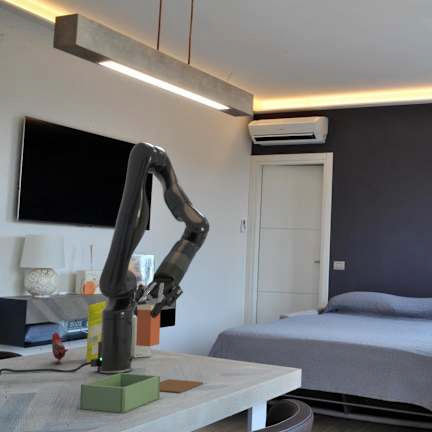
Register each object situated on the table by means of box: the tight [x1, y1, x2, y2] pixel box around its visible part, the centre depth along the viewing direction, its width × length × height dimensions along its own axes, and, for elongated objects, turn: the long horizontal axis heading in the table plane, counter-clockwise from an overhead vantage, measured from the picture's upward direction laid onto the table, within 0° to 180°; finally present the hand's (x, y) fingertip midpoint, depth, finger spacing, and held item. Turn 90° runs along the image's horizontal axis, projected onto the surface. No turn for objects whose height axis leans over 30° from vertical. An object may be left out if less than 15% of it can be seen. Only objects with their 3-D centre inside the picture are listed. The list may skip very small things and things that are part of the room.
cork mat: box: [159, 378, 204, 394], centre depth 174 cm, size 12×12×1 cm
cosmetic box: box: [131, 315, 151, 358], centre depth 220 cm, size 8×6×15 cm
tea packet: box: [136, 303, 161, 347], centre depth 164 cm, size 5×4×11 cm
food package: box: [85, 300, 107, 363], centre depth 212 cm, size 15×1×20 cm, turn 5°
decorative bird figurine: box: [51, 332, 69, 365], centre depth 203 cm, size 3×18×10 cm, turn 43°
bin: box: [79, 372, 161, 414], centre depth 155 cm, size 13×15×6 cm
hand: (144, 315), depth 163 cm, fingers closed on tea packet, 4 cm apart
